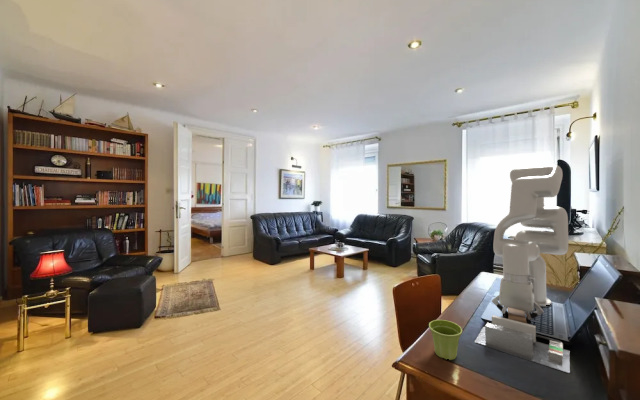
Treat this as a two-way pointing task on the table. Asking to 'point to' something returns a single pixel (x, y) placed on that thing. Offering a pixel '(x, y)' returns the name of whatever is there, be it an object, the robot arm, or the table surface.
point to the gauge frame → (525, 346)
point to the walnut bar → (516, 315)
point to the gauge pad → (518, 327)
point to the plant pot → (445, 338)
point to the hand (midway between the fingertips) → (516, 325)
